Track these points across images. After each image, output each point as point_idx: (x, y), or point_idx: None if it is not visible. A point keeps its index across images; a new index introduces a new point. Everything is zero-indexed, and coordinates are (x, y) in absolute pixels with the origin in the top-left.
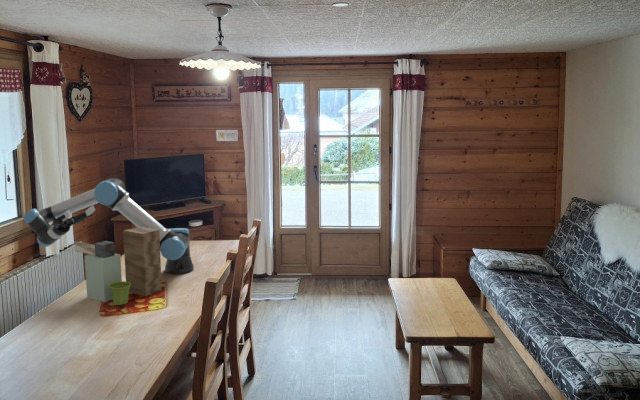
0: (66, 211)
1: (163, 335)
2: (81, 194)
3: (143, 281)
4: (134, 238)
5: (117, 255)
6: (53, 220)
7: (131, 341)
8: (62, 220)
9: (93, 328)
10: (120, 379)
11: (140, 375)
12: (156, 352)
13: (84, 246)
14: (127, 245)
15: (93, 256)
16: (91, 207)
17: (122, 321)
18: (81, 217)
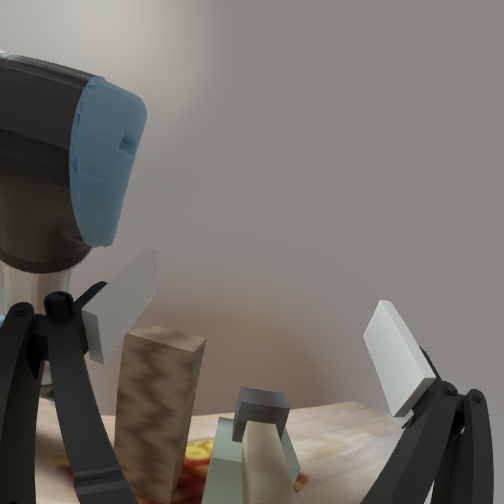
0: (395, 312)
1: (288, 419)
2: None
3: (185, 447)
4: (198, 360)
5: (230, 419)
6: (482, 420)
7: (321, 428)
8: (408, 409)
9: (339, 461)
10: (358, 410)
11: (344, 407)
12: (316, 412)
13: (285, 462)
14: (188, 393)
15: (284, 449)
16: (151, 266)
17: (296, 454)
18: (98, 411)
